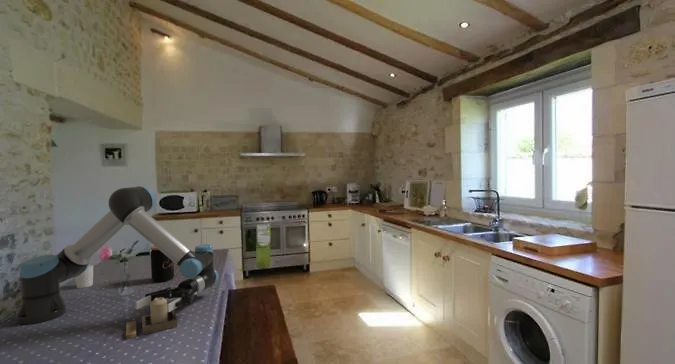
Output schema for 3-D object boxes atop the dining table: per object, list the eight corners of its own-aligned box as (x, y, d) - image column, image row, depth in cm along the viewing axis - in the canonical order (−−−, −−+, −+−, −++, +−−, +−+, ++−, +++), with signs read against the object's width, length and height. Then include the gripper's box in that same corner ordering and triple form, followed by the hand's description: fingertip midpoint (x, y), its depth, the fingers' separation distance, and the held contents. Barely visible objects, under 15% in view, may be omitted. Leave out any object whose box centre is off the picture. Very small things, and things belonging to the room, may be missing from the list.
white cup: (71, 287, 173) (70, 268, 173) (87, 282, 180) (86, 263, 180) (81, 289, 170) (80, 269, 170) (97, 284, 177) (96, 265, 177)
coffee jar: (165, 283, 176) (163, 248, 176) (147, 282, 178) (145, 248, 178) (178, 276, 187) (177, 244, 186) (161, 276, 189) (160, 243, 188)
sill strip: (126, 339, 117) (125, 335, 117) (126, 325, 127) (126, 322, 127) (136, 336, 118) (136, 333, 118) (136, 323, 129) (136, 320, 129)
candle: (156, 329, 124) (155, 302, 123) (148, 326, 126) (146, 299, 126) (170, 323, 128) (169, 297, 128) (162, 320, 131) (161, 294, 131)
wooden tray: (142, 334, 120) (142, 327, 120) (142, 323, 129) (142, 316, 129) (177, 326, 125) (177, 319, 125) (174, 316, 135) (174, 309, 135)
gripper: (217, 298, 141) (181, 320, 121) (166, 294, 148) (124, 314, 127) (216, 280, 141) (180, 299, 121) (165, 276, 147) (123, 294, 127)
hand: (151, 307), depth 124 cm, fingers open, 13 cm apart
